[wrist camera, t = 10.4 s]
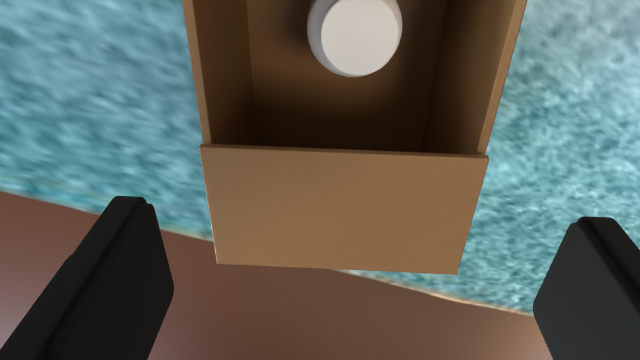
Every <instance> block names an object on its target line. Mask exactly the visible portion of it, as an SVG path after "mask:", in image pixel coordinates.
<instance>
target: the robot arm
mask: <svg viewBox="0 0 640 360" xmlns="http://www.w3.org/2000/svg"><path fill="white" fill-rule="evenodd" d="M173 292H174V284H173V280H172V276H171V272H170V268H169V264H168V260H167V256H166V252H165V248H164V245H163V241H162V237H161V233H160V229H159V225H158V221H157V217H156V213H155V209H154V207H153V205H152V204H147V202H146V200H145V199H144V198H143V197H131V196H116V197H114V198H113V199H112V201H111V202H110V203H109V205H108V206H107V207H106V209H105V210H104V212H103V213H102V214H101V216H100V217H99V218H98V220H97V221H96V223H95V224H94V226H93V227H92V228H91V230H90V231H89V232H88V234H87V235H86V236H85V238H84V239H83V240H82V242H81V243H80V245H79V246H78V247H77V249H76V250H75V251H74V253H73V254H72V255H70V256H69V258H68V259H67V260H66V261H65V262H64V263H63V265H62V266H61V267H60V269H59V270H58V272H57V273H56V274H55V276H54V277H53V278H52V280H51V281H50V282H49V284H48V285H47V287H46V288H45V289H44V291H43V292H42V294H41V295H40V296H39V297H38V299H37V300H36V302H35V303H34V304H33V306H32V307H31V308H30V310H29V311H28V313H27V314H26V315H25V317H24V318H23V319H22V321H21V322H20V323H19V325H18V326H17V328H16V329H15V330H14V332H13V333H12V334H11V336H10V337H9V338H8V340H7V341H6V343H5V344H4V345H3V347H2V348H1V349H0V360H147V359H148V357H149V354H150V352H151V349H152V347H153V344H154V342H155V339H156V337H157V334H158V332H159V330H160V327H161V325H162V322H163V320H164V317H165V315H166V313H167V310H168V308H169V305H170V303H171V300H172V297H173ZM533 313H534V317H535V319H536V322H537V324H538V326H539V328H540V330H541V333H542V335H543V337H544V339H545V342H546V344H547V347H548V349H549V351H550V353H551V356H552V357H553V360H640V250H639V249H638V247H637V246H636V245H635V244H634V242H633V241H632V240H631V239H630V238H629V236H628V235H627V234H626V233H625V231H624V230H623V229H622V228H621V226H620V225H619V224H618V223H617V222H616V221H615V220H614V219H612V218H607V217H581V218H580V219H578V221H577V222H576V223H572V224H571V225H570V226H569V228H568V230H567V232H566V234H565V236H564V238H563V240H562V243H561V245H560V247H559V249H558V251H557V253H556V255H555V257H554V260H553V262H552V264H551V266H550V268H549V270H548V272H547V274H546V277H545V279H544V281H543V283H542V285H541V287H540V289H539V292H538V294H537V296H536V298H535V300H534V303H533Z"/></svg>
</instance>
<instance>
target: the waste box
mask: <svg viewBox="0 0 640 360" xmlns="http://www.w3.org/2000/svg"><path fill="white" fill-rule="evenodd" d="M396 1H397V4H398V6H399V8H400V12H401V16H402V34H401V39H400V42H399V45H398V47H397V49H396V51H395V53H394V55H393V56H392V57H391V59H390V60H389V61H388V62H387V63H386V64H385V65H384V66H383V67H382V68H380V69H379V70H377V71H375V72H373V73H371V74H368V75H365V76H360V77H346V76H341V75H338V74H335V73H333V72H331V71H329V70H328V69H326V68H325V67H324V66H323V65H322V64H321V63H320V62H319V61H318V60H317V59H316V57H315V56H314V54H313V52H312V50H311V48H310V45H309V42H308V37H307V21H306V18H307V9H308V5H309V3H310V0H182V4H183V11H184V18H185V25H186V31H187V38H188V45H189V52H190V58H191V65H192V72H193V79H194V86H195V92H196V99H197V106H198V113H199V119H200V126H201V133H202V140H203V144H201V145H200V147H199V149H200V155H201V162H202V168H203V175H204V181H205V188H206V194H207V201H208V207H209V214H210V220H211V227H212V233H213V240H214V246H215V252H216V259H217V263H219V264H221V263H222V264H242V265H261V266H283V267H284V266H285V267H304V268H326V269H347V270H368V271H390V272H411V273H433V274H454V275H456V274H457V272H458V268H459V265H460V261H461V258H462V254H463V251H464V247H465V244H466V240H467V236H468V233H469V229H470V226H471V222H472V219H473V215H474V212H475V208H476V205H477V201H478V198H479V194H480V191H481V187H482V183H483V180H484V176H485V173H486V169H487V166H488V162H489V157H488V155H485V153H486V149H487V145H488V142H489V138H490V135H491V131H492V127H493V124H494V120H495V116H496V113H497V109H498V105H499V102H500V98H501V94H502V91H503V87H504V84H505V80H506V76H507V73H508V69H509V65H510V62H511V58H512V54H513V51H514V47H515V43H516V40H517V36H518V33H519V29H520V25H521V22H522V18H523V14H524V11H525V7H526V3H527V0H396Z"/></svg>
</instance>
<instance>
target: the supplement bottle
mask: <svg viewBox="0 0 640 360" xmlns="http://www.w3.org/2000/svg"><path fill="white" fill-rule="evenodd" d="M306 21H307V37H308V42H309V45H310V48H311V50H312V52H313V54H314V56H315V57H316V59H317V60H318V61H319V62H320V63H321V64H322V65H323V66H324V67H325V68H326V69H328V70H329V71H331V72H333V73H335V74H338V75H341V76H346V77H360V76H365V75H368V74H371V73H373V72H375V71H377V70H379V69H380V68H382V67H383V66H384V65H385V64H386V63H387V62H388V61H389V60H390V59H391V57H392V56H393V55H394V53H395V51H396V49H397V47H398V45H399V42H400V39H401V34H402V16H401V12H400V8H399V6H398V4H397V1H396V0H310V3H309V5H308V9H307V18H306Z"/></svg>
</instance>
